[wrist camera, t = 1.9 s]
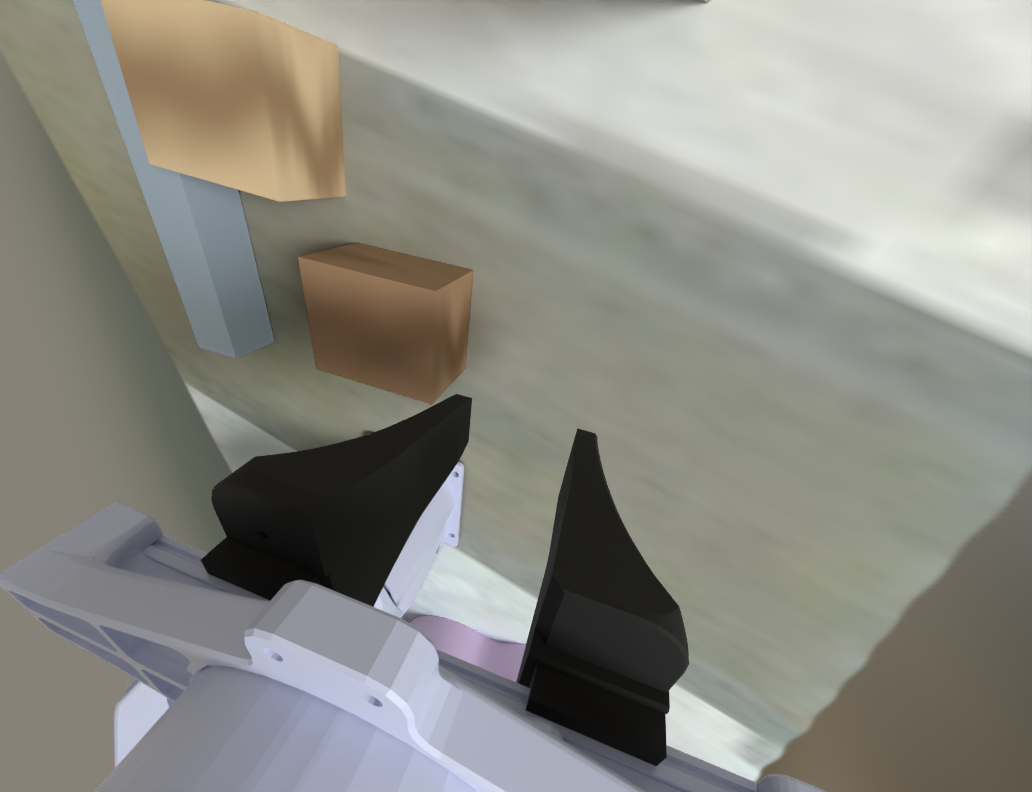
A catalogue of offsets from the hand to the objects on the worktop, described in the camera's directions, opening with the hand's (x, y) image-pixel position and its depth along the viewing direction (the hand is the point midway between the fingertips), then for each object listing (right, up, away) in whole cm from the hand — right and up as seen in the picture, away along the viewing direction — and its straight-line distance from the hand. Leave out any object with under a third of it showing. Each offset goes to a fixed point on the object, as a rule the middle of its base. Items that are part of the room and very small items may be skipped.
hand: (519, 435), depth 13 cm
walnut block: (-6, +7, +9) cm, 12 cm away
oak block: (-12, +16, +5) cm, 20 cm away
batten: (-17, +13, +8) cm, 23 cm away
